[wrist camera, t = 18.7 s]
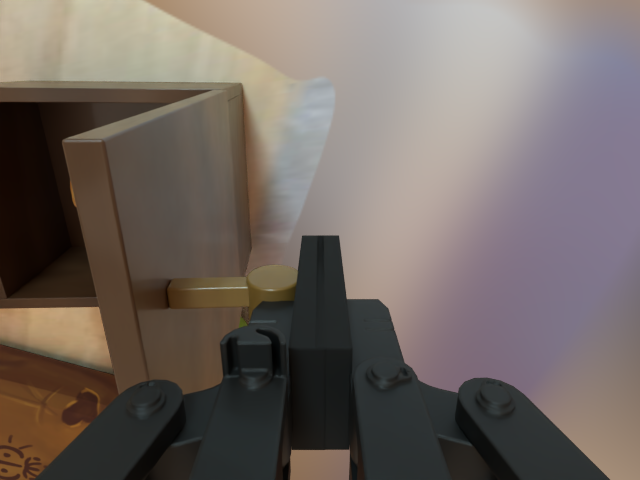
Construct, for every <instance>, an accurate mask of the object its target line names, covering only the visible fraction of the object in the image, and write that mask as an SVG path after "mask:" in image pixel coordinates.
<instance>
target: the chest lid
mask: <svg viewBox="0 0 640 480" xmlns="http://www.w3.org/2000/svg"><path fill="white" fill-rule="evenodd" d="M62 145H63V149H64V154H65V158H66V163H67V167H68V171H69V176H70V180H71V185H72V189H73V194H74V198H75V202H76V207H77V211H78V216H79V220H80V225H81V229H82V233H83V238H84V242H85V247H86V251H87V256H88V260H89V264H90V269H91V273H92V278H93V282H94V286H95V291H96V295H97V300H98V304H99V309H100V313H101V317H102V322H103V326H104V331H105V335H106V340H107V344H108V348H109V353H110V357H111V362H112V366H113V370H114V375H115V379H116V384H117V388H118V393H119V395H120V394H121V393H122V392H124V391H125V390H126V389H127V388H129V387H132V386H134V385H136V384H138V383H141V382H145V381H150V380H154V379H156V380H169V381H171V382H174V383H176V384H177V385H178V386H179V387H180V388H181V389H182V392H183V395H184V394H189V393H193V392H197V391H202V390H205V389H208V388H212V387H214V386H216V385H218V384H220V383H221V381H222V378H223V371H222V361H221V351H220V342H221V340H222V339H223V337H224V336H225V335H226V334H228V333H229V332H231V331H233V330H234V329H237V328H239V323H240V318H241V312H242V307H248V317H249V323H250V318H251V314H252V311H253V309H254V308H256V307H257V306H258V305H259V304H260V303H261V302H262V301H269V302H274V301H294V299H295V291H296V282H297V274H298V271H297V270H296V269H294V268H292V267H289V266H284V265H267V266H262V267H259V268H256V269H254V270H253V271H251V272H250V273H249V274H248V276H247V277H240V267H239V253H238V239H237V225H236V211H235V197H234V183H233V169H232V155H231V141H230V127H229V113H228V99H227V90H212V91H209V92H206V93H203V94H200V95H197V96H194V97H191V98H188V99H185V100H181V101H178V102H175V103H172V104H169V105H166V106H163V107H160V108H157V109H154V110H151V111H148V112H145V113H142V114H139V115H136V116H133V117H130V118H127V119H124V120H121V121H118V122H114V123H111V124H108V125H105V126H102V127H99V128H96V129H93V130H90V131H87V132H84V133H81V134H78V135H75V136H72V137H69V138H66V139H63V140H62Z"/></svg>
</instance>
